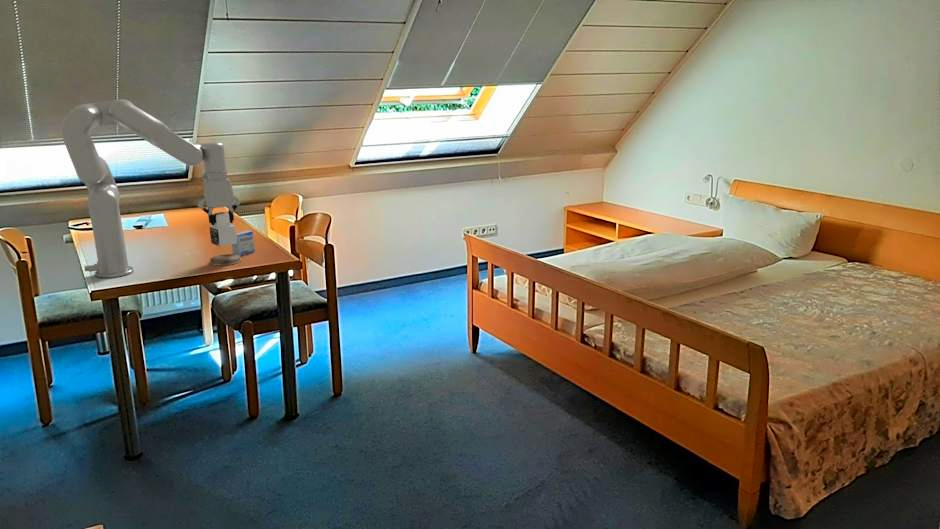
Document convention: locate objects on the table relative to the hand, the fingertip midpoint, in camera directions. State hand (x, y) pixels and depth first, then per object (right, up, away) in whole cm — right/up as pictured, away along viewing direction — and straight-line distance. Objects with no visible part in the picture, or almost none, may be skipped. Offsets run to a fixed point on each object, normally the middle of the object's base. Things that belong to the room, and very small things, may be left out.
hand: (221, 223), depth 263 cm
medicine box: (+3, -11, +16) cm, 20 cm away
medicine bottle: (0, -8, +2) cm, 8 cm away
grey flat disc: (0, -15, +4) cm, 15 cm away
